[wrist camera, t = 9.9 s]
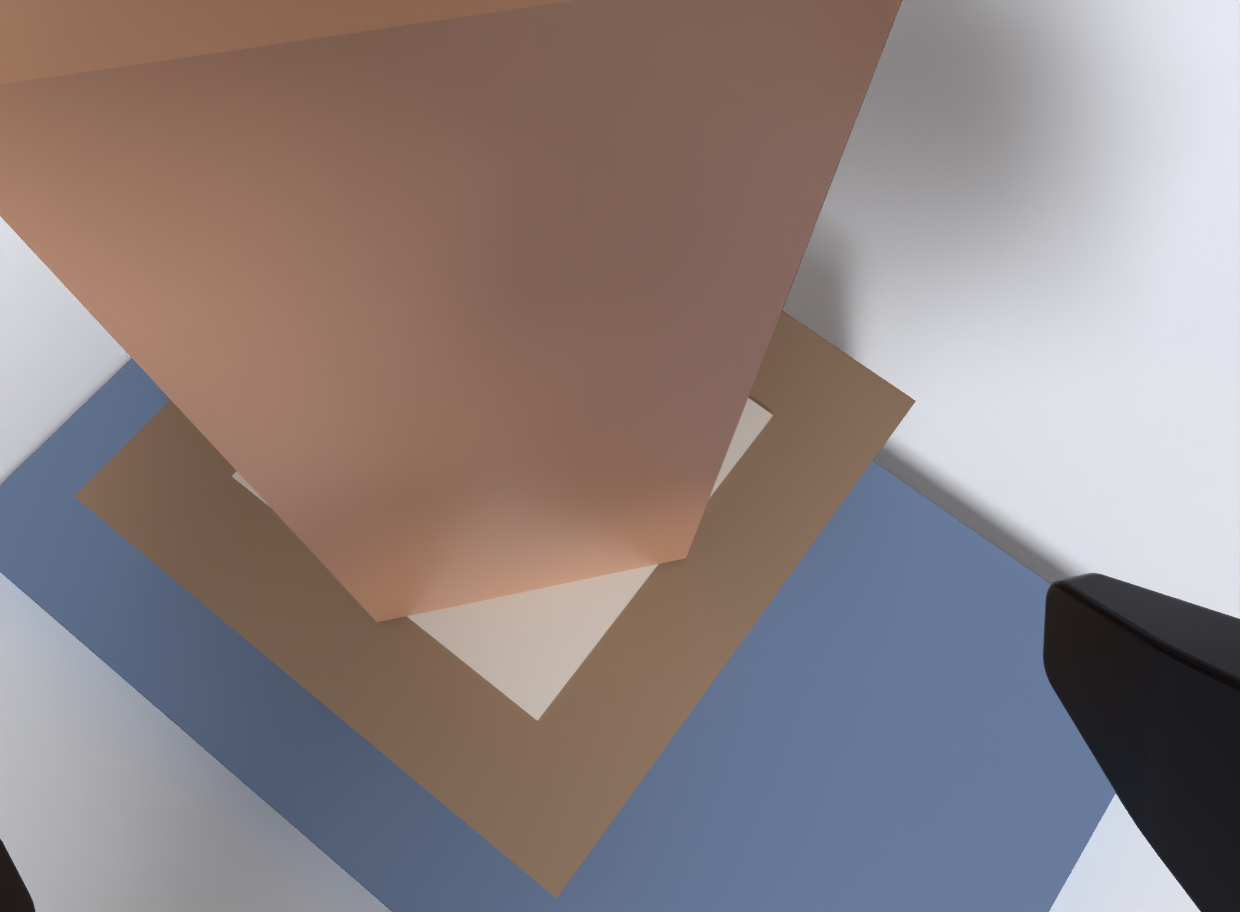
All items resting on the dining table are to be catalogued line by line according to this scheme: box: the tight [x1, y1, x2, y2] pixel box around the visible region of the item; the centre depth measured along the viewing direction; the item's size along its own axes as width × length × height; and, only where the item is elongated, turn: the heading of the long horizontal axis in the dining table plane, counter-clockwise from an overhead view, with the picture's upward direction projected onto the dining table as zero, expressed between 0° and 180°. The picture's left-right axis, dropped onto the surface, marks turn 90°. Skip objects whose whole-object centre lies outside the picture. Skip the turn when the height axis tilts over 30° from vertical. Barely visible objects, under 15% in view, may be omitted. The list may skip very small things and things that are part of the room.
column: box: [0, 0, 902, 622], centre depth 11 cm, size 5×5×13 cm
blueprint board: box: [0, 311, 1116, 912], centre depth 19 cm, size 20×12×4 cm, turn 53°
